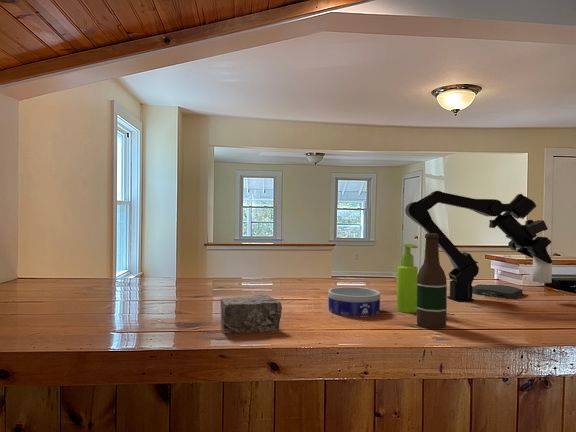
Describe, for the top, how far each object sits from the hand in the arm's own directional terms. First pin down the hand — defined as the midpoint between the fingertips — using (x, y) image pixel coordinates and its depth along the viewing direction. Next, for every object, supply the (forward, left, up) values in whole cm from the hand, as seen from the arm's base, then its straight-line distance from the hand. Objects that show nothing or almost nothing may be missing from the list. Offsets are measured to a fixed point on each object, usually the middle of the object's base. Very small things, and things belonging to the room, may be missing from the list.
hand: (546, 261), depth 137 cm
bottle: (-1, 0, -7) cm, 7 cm away
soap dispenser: (-52, -4, -14) cm, 54 cm away
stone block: (-101, -14, -14) cm, 103 cm away
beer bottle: (-54, -20, -14) cm, 59 cm away
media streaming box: (-6, +15, -14) cm, 22 cm away
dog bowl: (-68, -1, -14) cm, 70 cm away
